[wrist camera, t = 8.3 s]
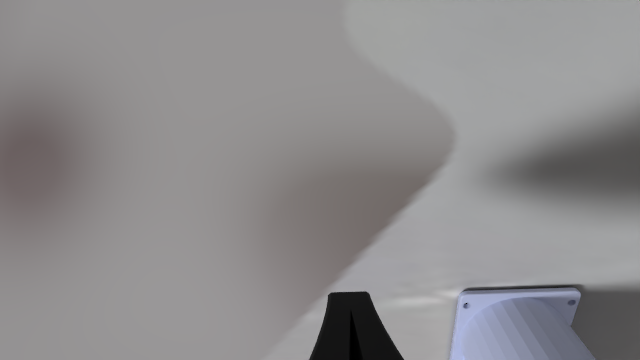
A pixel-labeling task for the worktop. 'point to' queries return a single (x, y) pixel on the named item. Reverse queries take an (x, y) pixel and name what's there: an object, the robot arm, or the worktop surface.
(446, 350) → the worktop surface
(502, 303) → the robot arm
